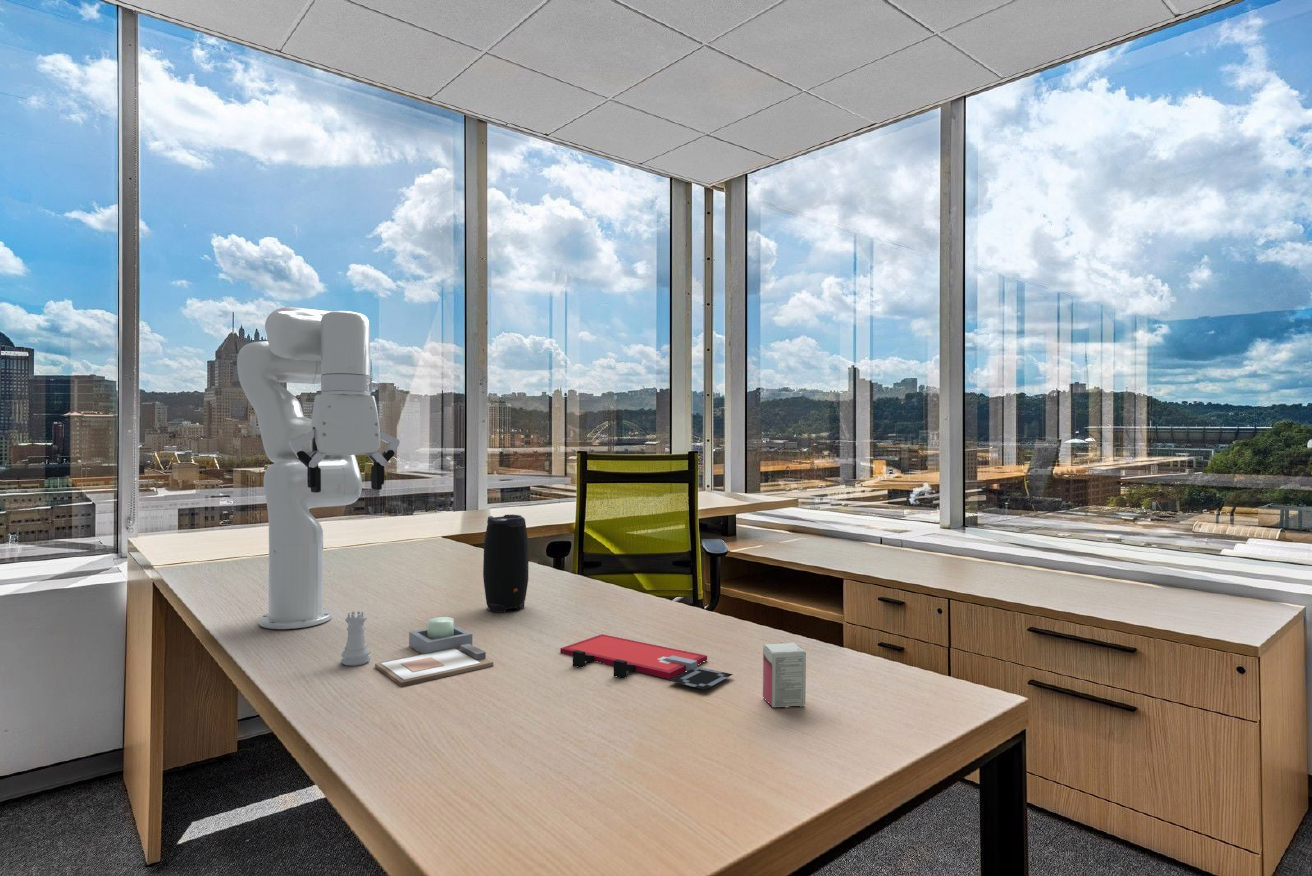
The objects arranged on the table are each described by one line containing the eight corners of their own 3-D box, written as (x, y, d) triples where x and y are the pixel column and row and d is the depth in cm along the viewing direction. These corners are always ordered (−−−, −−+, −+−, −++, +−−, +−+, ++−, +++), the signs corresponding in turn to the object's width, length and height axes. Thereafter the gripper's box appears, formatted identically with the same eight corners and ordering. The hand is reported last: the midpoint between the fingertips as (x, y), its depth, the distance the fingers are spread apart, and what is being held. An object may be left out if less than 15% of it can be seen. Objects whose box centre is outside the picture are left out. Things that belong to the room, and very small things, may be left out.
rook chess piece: (359, 667, 114) (360, 617, 114) (334, 665, 115) (335, 615, 115) (376, 659, 119) (376, 610, 119) (352, 656, 120) (352, 609, 119)
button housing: (409, 646, 126) (409, 631, 126) (452, 637, 131) (452, 624, 131) (427, 657, 120) (427, 642, 120) (472, 648, 125) (472, 634, 125)
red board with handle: (698, 699, 103) (747, 672, 115) (698, 679, 103) (747, 655, 115) (545, 661, 120) (601, 641, 132) (545, 644, 120) (602, 626, 132)
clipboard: (374, 667, 115) (375, 657, 114) (462, 649, 124) (462, 640, 124) (401, 686, 106) (401, 675, 106) (493, 665, 116) (493, 655, 116)
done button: (423, 636, 126) (423, 619, 125) (447, 632, 128) (447, 615, 128) (433, 642, 122) (433, 625, 122) (458, 638, 125) (458, 620, 125)
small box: (794, 696, 104) (795, 641, 104) (806, 707, 100) (806, 651, 100) (761, 697, 104) (762, 643, 103) (771, 709, 99) (772, 652, 99)
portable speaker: (529, 612, 150) (530, 518, 149) (483, 614, 147) (484, 519, 147) (526, 602, 158) (526, 513, 158) (482, 604, 156) (483, 514, 155)
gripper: (390, 391, 128) (390, 487, 127) (282, 386, 116) (283, 492, 116) (406, 388, 122) (407, 489, 122) (295, 383, 111) (296, 494, 110)
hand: (346, 490), depth 119 cm, fingers open, 9 cm apart
